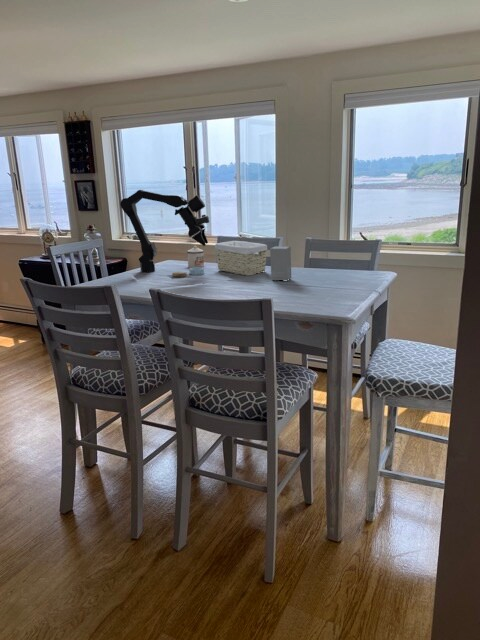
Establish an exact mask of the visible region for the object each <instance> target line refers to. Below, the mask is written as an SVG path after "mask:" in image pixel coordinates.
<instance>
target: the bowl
mask: <svg viewBox="0 0 480 640" xmlns="http://www.w3.org/2000/svg"><path fill="white" fill-rule="evenodd" d="M188 271H189V273H188V275H191V276H192V275H193V276H201V275H204V274H205V268H204V267H192V268H189V269H188Z"/></svg>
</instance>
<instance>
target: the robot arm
mask: <svg viewBox="0 0 480 640" xmlns="http://www.w3.org/2000/svg"><path fill="white" fill-rule="evenodd" d="M142 199H144V200H149V201H154V202H158V203H159V202H160V203H163V204H166V205H168V206H170V207H174V208H179V209H175V210H174V211H175V212H174V216H178V215H179V216H180V218H181V219H182V220H183V222H184V225H185V226H187V228H188V229H189V230H188V231H187V232H188V233H187V235H188V236H189V238H191V239H193V240H194V241H196V242H197V243H199V244H200V245H202V246H203V247H206V244H208V243H209V242H208V238H207V236H206V233H205V232H206V226H205V225H204V224H209V223H210V217H209V216H208V215H206V214H202V215H201V217H197V216H195V215H194V214H193V213H194V212H195V214H196V213H198V212H200V211H202V209H204V208H206V204H205V203H204V201H203V200H202V199H201V198H200V196H199V195H195V196H194V197H193V198H192V199H190V200H189V199H185V198H184V197H183V196H182V195H180V194H163V193H157V192H152V191H147V190H144V189H138V190H137V191H135V192H134V193H132V194H131V195H129V196H128V197H126V198H122V199H121V200H120V203H119V204H120V208H121V209H122V211H123V212H124V214H125V215H126V216H127V217H128V218H129V221H130V223H131V224H132V227H133V229H134V232H135V233H136V236H137V239H138V241H139V243H140V248H141V254H142V255H141V256H140V257H139V258H138V261H139V265H140V266H139V268H140V273H141V274H142V273H143V274H147V273H149V274H150V273H154V272H156V268H155V266H156V265H155V264H154V258H155V257H156V256H157V254H158V252H157V250H158V248H157V246H156V245H155V242H154V241H153V242H151V241H150V239H149V237H148V235H147V233H146V231H145V229H144V226H143V223H142V222H141V220H140V217H139V216H138V209H137V205H136V204H137V203H139V202H140V201H141V200H142ZM184 206H185V207H184Z"/></svg>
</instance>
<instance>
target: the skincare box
mask: <svg viewBox="0 0 480 640" xmlns="http://www.w3.org/2000/svg"><path fill="white" fill-rule="evenodd" d="M269 251H270V252H269V254H270V274H271V275H270V277H271V279H270V280H288V279H290V278H291V279H292V257H291V256H292V251H291V246H276V245H275V246H273V247H270V249H269ZM291 279H290V280H291Z"/></svg>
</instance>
